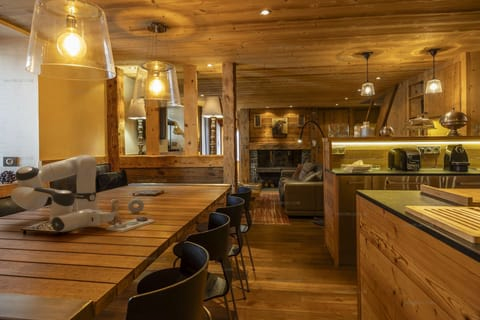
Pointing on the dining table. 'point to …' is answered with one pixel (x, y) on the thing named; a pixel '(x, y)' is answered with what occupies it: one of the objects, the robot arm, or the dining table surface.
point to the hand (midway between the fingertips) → (108, 212)
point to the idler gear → (115, 209)
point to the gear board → (130, 224)
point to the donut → (140, 207)
